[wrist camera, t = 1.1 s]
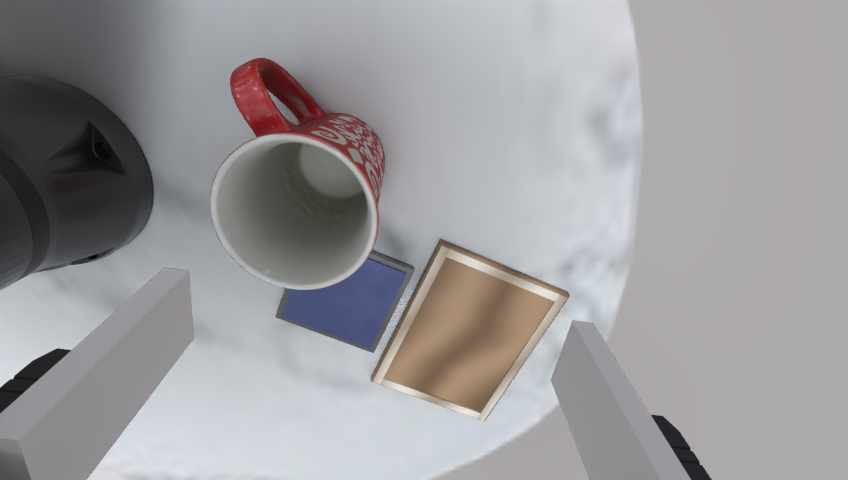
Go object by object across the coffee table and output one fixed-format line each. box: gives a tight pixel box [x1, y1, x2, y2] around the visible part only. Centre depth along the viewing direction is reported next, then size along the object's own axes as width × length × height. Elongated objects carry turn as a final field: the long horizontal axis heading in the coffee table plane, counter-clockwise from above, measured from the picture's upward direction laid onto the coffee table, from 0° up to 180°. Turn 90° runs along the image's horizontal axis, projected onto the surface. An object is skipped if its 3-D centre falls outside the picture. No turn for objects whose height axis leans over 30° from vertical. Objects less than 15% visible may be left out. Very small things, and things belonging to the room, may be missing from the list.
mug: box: [210, 58, 385, 290], centre depth 28 cm, size 13×9×14 cm
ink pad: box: [276, 250, 414, 353], centre depth 40 cm, size 10×10×1 cm
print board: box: [371, 239, 570, 421], centre depth 42 cm, size 13×17×1 cm
